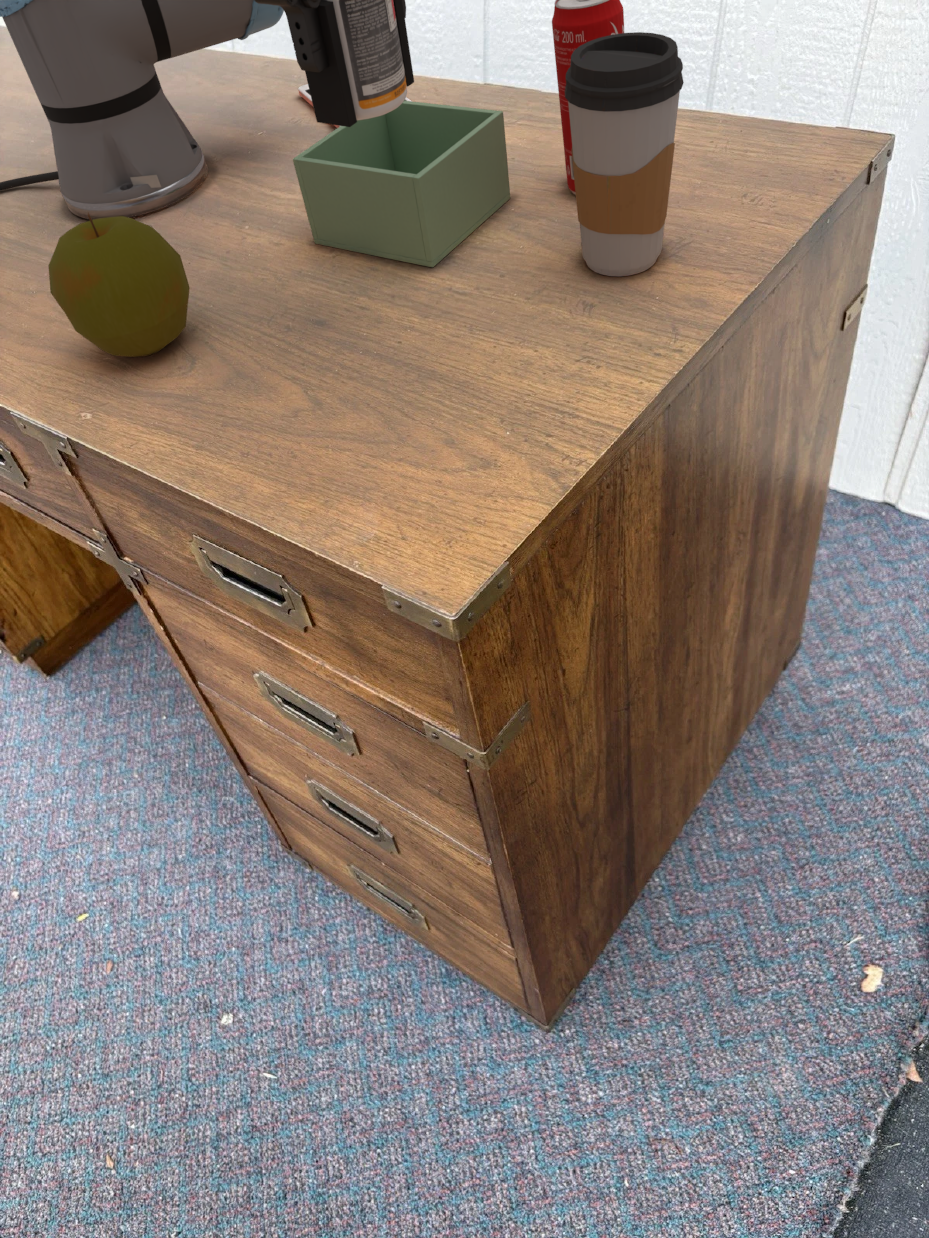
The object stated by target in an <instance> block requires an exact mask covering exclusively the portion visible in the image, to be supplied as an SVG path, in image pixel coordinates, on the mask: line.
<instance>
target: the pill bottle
mask: <svg viewBox="0 0 929 1238" xmlns="http://www.w3.org/2000/svg"><path fill="white" fill-rule="evenodd" d="M321 1H332V2H333V4H334V9H335V14H336V19H337V24H338V29H339V34H340V39H341V44H342V49H343V54H344V59H345V64H346V69H347V74H348V79H349V84H350V89H351V94H352V99H353V104H354V109H355V114H356V119H357V120H364V119H369V118H374V117H378V116H381V115H384V114H387V113H389V112H391V111H393V110H394V109H396V108H398V107H399V106H400V105H401V104H402V103H403V101H404V100H405V98H406V97H407V95H408V87H407V85H406V78H405V71H404V65H403V58H402V53H401V46H400V40H399V34H398V28H397V22H396V16H395V9H394V3H393V0H321Z"/></svg>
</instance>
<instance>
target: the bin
mask: <svg viewBox="0 0 929 1238" xmlns="http://www.w3.org/2000/svg"><path fill="white" fill-rule="evenodd" d="M505 129H506V128H505V118H504V110H497V109H496V110H495V109H488V108H487V109H485V108H476V107H467V106H459V105H449V104H441V103H431V102H422V101H413V100H411V101H403V103H402V104H401V105H400V106H399V107H398V108H396V109H394V110H393V111H391V112H389V113H387V114H384V115H381V116H378V117H374V118H369V119H364V120H357V123H355V124H354V125H352V126H351V127H346V126H340V127H338V128H335V129H334V130H333V131H331V132H329V133H328V134H327V135H325V136H324V137H322V138H321V139H319V140H318V141H316V142H315V143H314V144H312V145H310V146H309V147H308V148H306V149H305V150H304V151H302V152H301V153H299V154H298V155H296V156H295V157H293V158H292V162H293V166H294V171H295V175H296V178H297V182H298V186H299V189H300V193H301V197H302V201H303V204H304V208H305V211H306V212H305V213H306V215H307V220H308V223H309V226H310V230H311V235H312V238H313V242H314V244H315V245H320V246H325V247H330V248H335V249H340V250H345V251H349V252H354V253H359V254H363V255H369V256H374V257H379V258H385V259H388V260H394V261H398V262H403V263H408V264H413V265H418V266H423V267H428V268H435V266H437V265H438V264H439V263H440V262H441V261H442V260H444V259H445V258H446V257H447V256H448V255H449V254H450V253H451V252H452V251H453V250H454V249H456V247H458V246H459V245H460V244H461V243H462V242H463V241H465V240H466V239H468V237H469V236H470V235H471V234H472V233H473V232H475V230H477V229H478V228H479V227H480V226H482V224H484V222H486V221H487V220H488V219H489V218H490V217H491V216H493V214H495V213H496V212H497V211H498V210H499V209H500V208H501V207H502V206H504V205H505V204H506V203H507V202H508V201H509V200H510V199H511V189H510V188H511V187H510V176H509V165H508V153H507V141H506V130H505Z"/></svg>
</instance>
